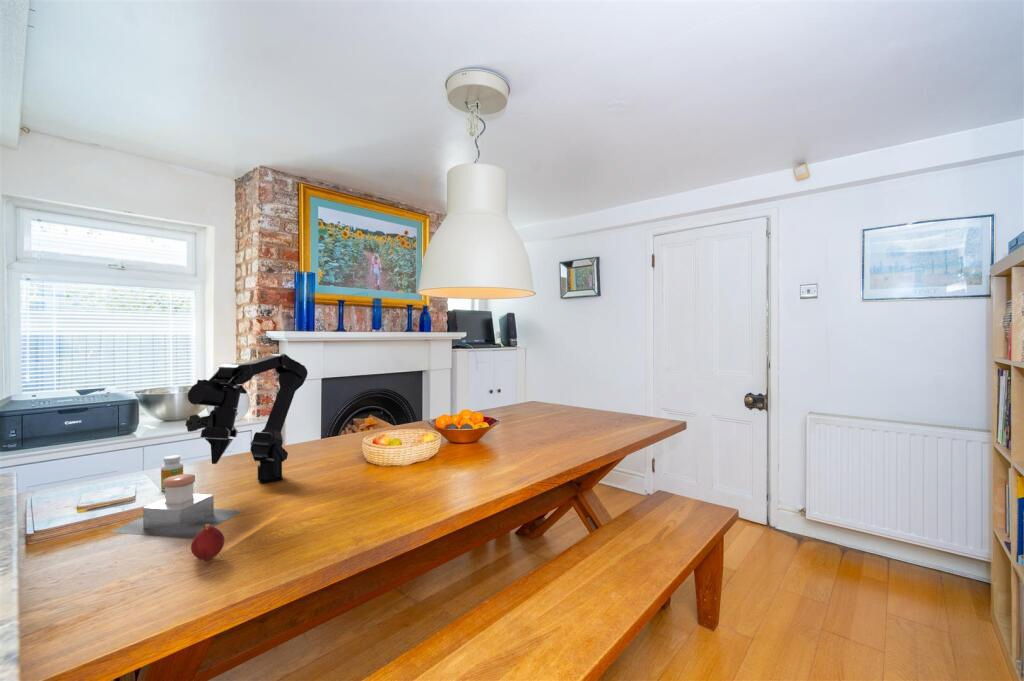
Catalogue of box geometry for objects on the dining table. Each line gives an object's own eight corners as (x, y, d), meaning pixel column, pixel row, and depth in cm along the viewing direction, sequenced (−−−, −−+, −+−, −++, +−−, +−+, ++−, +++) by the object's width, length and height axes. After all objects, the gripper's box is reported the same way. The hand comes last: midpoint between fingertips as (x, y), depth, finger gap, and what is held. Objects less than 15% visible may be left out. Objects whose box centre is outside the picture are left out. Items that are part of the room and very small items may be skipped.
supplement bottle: (171, 492, 134) (171, 460, 133) (156, 490, 135) (156, 458, 134) (187, 486, 139) (187, 455, 139) (173, 484, 140) (173, 453, 140)
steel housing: (179, 511, 118) (179, 492, 118) (213, 513, 116) (213, 494, 116) (143, 528, 108) (142, 507, 108) (180, 531, 107) (179, 510, 106)
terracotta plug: (179, 499, 116) (179, 473, 115) (201, 500, 115) (201, 474, 115) (156, 509, 109) (156, 481, 109) (179, 510, 108) (179, 483, 108)
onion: (202, 554, 98) (201, 518, 98) (229, 553, 98) (229, 517, 98) (185, 568, 92) (184, 530, 92) (214, 567, 93) (214, 529, 92)
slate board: (169, 508, 122) (169, 505, 122) (243, 514, 119) (243, 510, 119) (108, 535, 106) (108, 531, 106) (192, 543, 103) (192, 539, 103)
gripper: (199, 406, 134) (187, 460, 131) (184, 403, 117) (170, 465, 114) (242, 409, 138) (231, 461, 135) (233, 407, 121) (221, 467, 118)
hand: (214, 463), depth 125 cm, fingers closed
